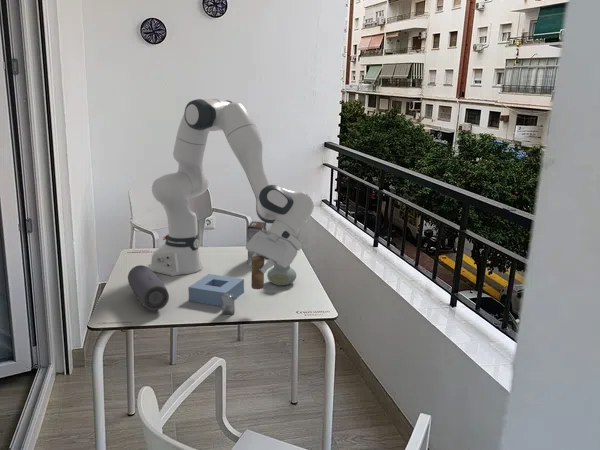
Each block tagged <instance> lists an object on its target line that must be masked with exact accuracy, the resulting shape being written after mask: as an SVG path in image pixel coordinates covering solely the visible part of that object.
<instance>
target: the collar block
mask: <svg viewBox="0 0 600 450" xmlns="http://www.w3.org/2000/svg"><path fill="white" fill-rule="evenodd" d="M187 288H188V301H189V302H195V303H200V304H206V305H211V306H212V305H213V306H217V307H218V306H219V307H222V295H223V294H227V293H230V294H234V301H235V300H237V298H239V297H240V296H241V295H243V294H244V293H245V279H244V278H238V277H232V276H225V275H219V274H218V275H217V274H213V273H211V274H210V273H208V274H207V275H205V276H204V277H202V278H200V279H199V280H197V281H195V283H193V284H191V285H189V286H188V287H187Z"/></svg>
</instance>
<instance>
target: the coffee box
mask: <svg viewBox="0 0 600 450" xmlns="http://www.w3.org/2000/svg"><path fill="white" fill-rule="evenodd" d="M261 230H267V223H266V222H263V221H251V222H250V223H249V225H248V226H247V243H248V242H249V240H250V239H251V238H252V237H253V236H254V235H255V234H256V233H257V232H259V231H261ZM252 255H253V254H252V253H250V252H249V251H248V250H247V264H248V265H249V264H250V262H251V261H252ZM265 261H266V259H264V262H265Z"/></svg>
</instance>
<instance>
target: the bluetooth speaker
mask: <svg viewBox="0 0 600 450" xmlns="http://www.w3.org/2000/svg"><path fill="white" fill-rule="evenodd" d="M127 282H128V284H129V286H130V288H131V290H132V292H133V294H134V297H136V298H137V299H138V301H139V302H140V303H141V304H142V305H143V306H144V307H145V308H146V309H148V310H150V311H158V310H161V309H163V308H165V306H166V305H168V302H169V299H170V295H169V292H168V290H167V287H166V286H165V284H164V283H163V282H162V280H161V279H160V278H159V277H158V275H156V274H155V272H154V271H151V270H150V269H149V268H147V267H146V265H141V264H140V265H136V266H133V267H132V268H131V269H130V270H129V272H128V275H127Z"/></svg>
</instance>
